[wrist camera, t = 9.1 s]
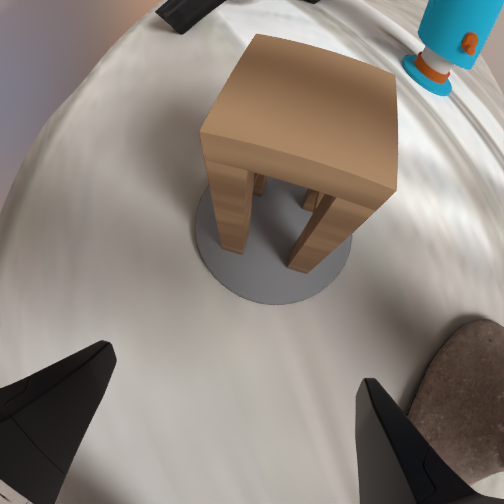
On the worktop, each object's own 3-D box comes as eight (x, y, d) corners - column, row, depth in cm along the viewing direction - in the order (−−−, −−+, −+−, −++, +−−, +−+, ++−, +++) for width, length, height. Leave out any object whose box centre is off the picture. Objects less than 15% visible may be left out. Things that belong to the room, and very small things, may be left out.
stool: (306, 274, 19) (396, 190, 7) (222, 248, 19) (199, 131, 8) (324, 198, 20) (395, 74, 9) (247, 175, 21) (256, 33, 9)
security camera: (488, -39, 8) (542, 1, 6) (434, 59, 29) (463, 107, 26) (436, -71, 8) (493, -41, 5) (387, 45, 28) (415, 93, 26)
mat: (328, 325, 19) (330, 325, 18) (172, 273, 19) (170, 271, 19) (360, 187, 22) (363, 183, 21) (228, 144, 22) (228, 139, 22)
